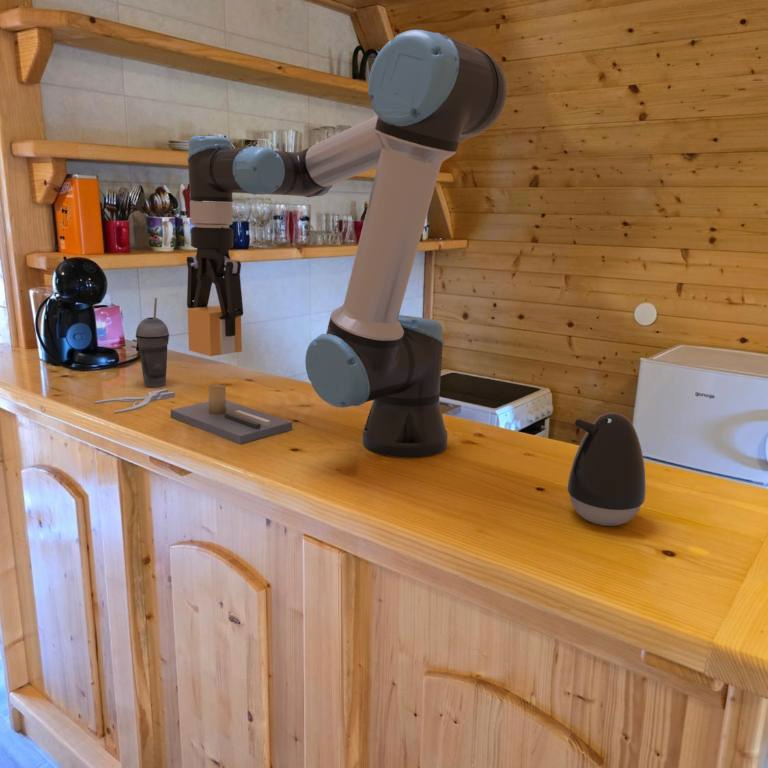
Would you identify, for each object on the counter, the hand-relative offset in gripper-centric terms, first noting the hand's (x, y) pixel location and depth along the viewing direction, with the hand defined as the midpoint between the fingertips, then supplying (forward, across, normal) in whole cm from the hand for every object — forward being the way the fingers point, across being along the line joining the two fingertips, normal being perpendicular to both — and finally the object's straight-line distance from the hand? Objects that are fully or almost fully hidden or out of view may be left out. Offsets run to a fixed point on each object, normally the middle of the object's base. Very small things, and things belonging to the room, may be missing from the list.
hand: (215, 349), depth 132 cm
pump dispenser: (+14, -74, -11) cm, 76 cm away
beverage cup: (+14, +31, -5) cm, 34 cm away
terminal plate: (+14, -4, 0) cm, 14 cm away
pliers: (+14, +21, +5) cm, 26 cm away
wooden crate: (0, 0, 0) cm, 0 cm away
